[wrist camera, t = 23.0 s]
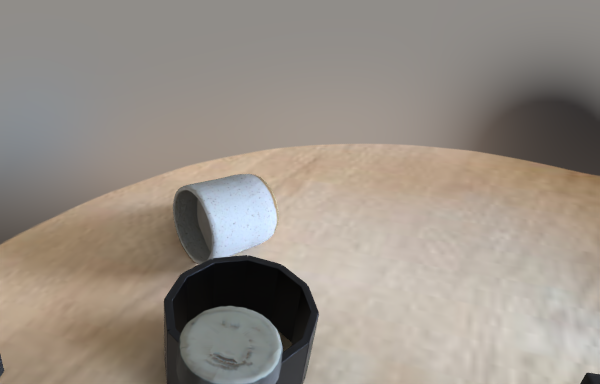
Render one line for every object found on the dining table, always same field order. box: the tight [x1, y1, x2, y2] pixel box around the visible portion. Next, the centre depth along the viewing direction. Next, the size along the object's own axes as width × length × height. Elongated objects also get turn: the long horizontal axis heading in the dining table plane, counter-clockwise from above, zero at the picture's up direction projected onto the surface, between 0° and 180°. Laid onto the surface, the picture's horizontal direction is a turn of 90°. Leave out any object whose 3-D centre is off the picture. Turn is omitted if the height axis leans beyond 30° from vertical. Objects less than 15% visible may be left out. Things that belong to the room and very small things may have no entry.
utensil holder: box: [164, 255, 319, 384], centre depth 43 cm, size 11×11×6 cm
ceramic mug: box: [173, 174, 278, 264], centre depth 55 cm, size 11×8×8 cm
